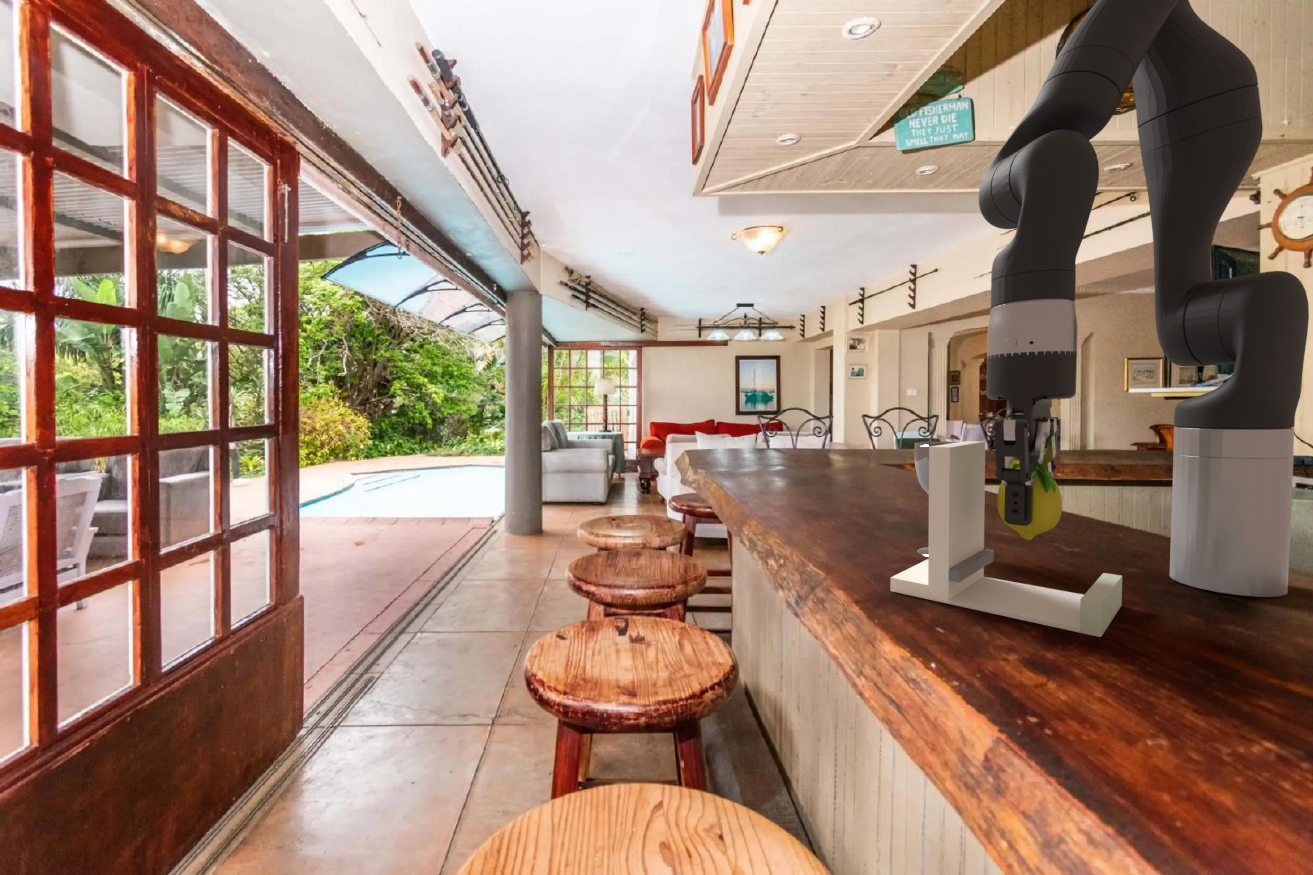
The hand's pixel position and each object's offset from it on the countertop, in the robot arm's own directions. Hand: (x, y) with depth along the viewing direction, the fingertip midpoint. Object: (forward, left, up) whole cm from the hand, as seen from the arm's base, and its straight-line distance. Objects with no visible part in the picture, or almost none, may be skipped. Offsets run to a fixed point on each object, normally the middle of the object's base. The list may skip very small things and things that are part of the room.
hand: (1026, 519), depth 58 cm
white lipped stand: (0, -2, -9) cm, 9 cm away
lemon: (0, 0, -2) cm, 2 cm away
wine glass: (-15, -13, -9) cm, 22 cm away
